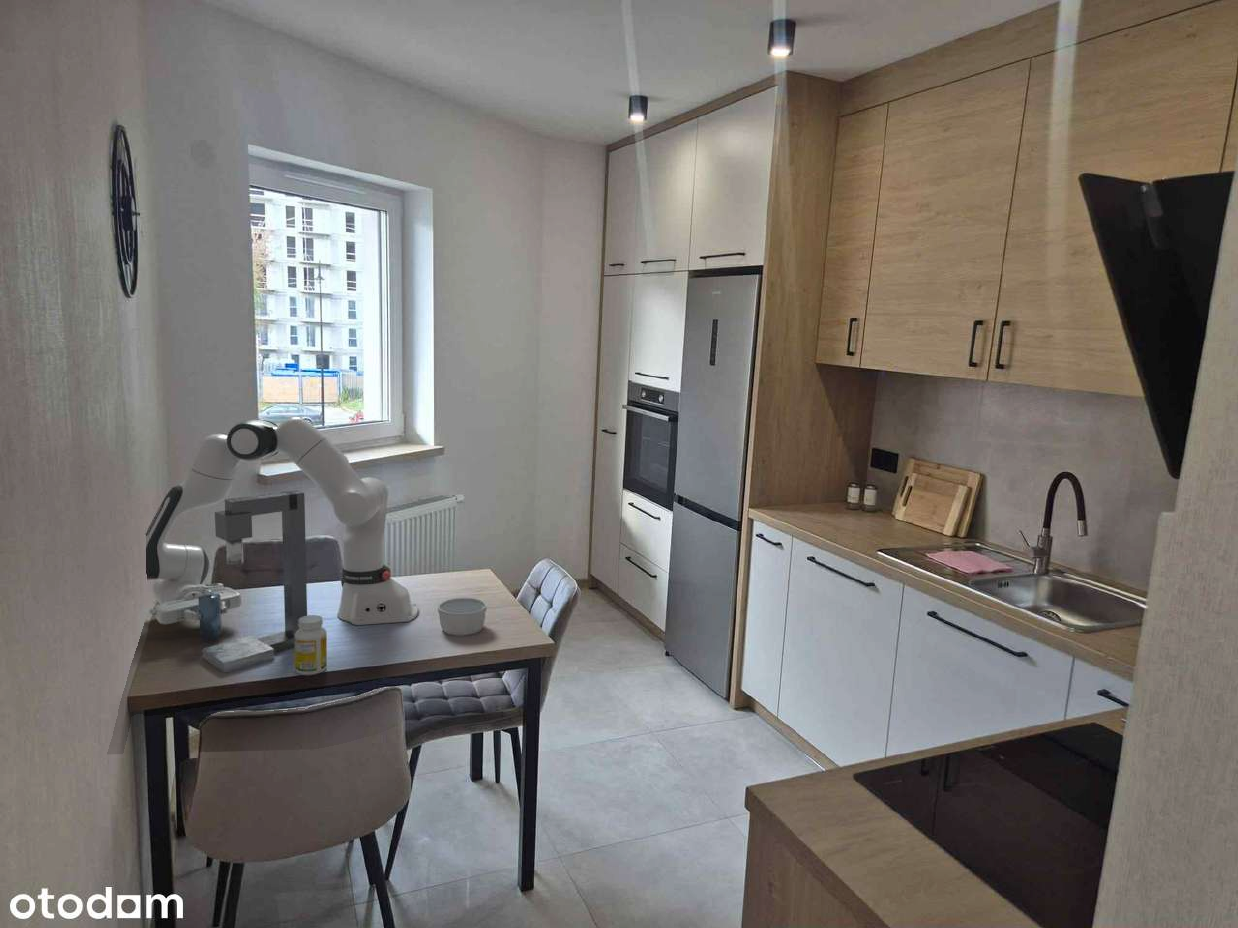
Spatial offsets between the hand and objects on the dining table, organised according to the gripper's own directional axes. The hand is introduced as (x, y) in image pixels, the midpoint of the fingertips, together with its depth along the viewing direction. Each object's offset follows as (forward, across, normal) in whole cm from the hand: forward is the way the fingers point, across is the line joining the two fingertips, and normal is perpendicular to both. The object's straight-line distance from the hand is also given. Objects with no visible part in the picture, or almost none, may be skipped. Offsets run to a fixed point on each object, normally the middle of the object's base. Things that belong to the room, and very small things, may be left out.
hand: (211, 613), depth 201 cm
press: (+15, +5, +8) cm, 18 cm away
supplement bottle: (+33, +9, +8) cm, 35 cm away
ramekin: (+37, +52, +8) cm, 64 cm away
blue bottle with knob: (-1, 0, +6) cm, 6 cm away
